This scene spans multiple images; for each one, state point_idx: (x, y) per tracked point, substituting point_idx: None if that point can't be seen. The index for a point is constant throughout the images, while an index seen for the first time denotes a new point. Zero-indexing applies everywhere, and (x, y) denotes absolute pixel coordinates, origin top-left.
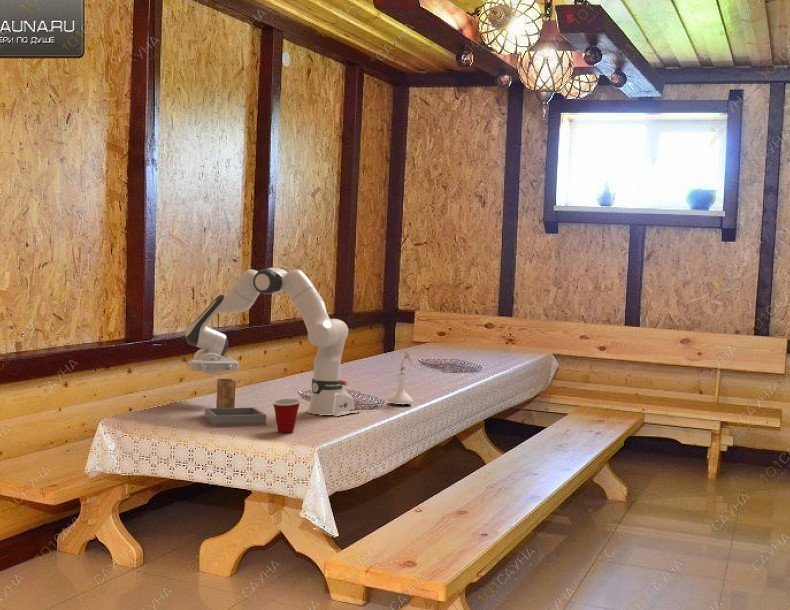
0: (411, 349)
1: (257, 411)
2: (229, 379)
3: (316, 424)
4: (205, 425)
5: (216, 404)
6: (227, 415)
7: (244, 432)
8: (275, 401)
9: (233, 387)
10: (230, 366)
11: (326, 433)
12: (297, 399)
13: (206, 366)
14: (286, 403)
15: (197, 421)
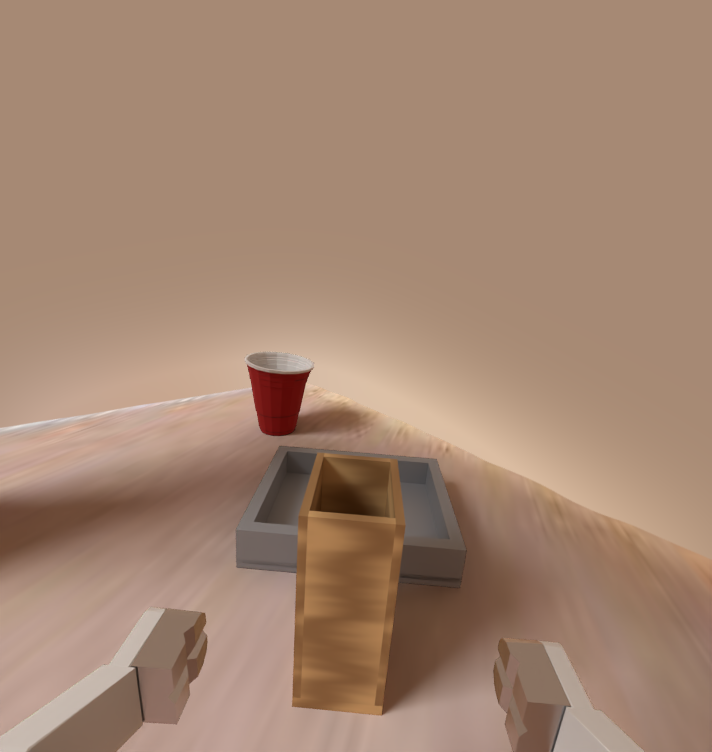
0: None
1: (273, 480)
2: (314, 514)
3: (136, 454)
4: (459, 502)
5: (386, 671)
6: (397, 458)
7: (369, 441)
8: (294, 372)
9: (326, 484)
10: (158, 610)
11: (203, 410)
12: (245, 358)
13: (542, 641)
14: (263, 376)
15: (488, 551)
